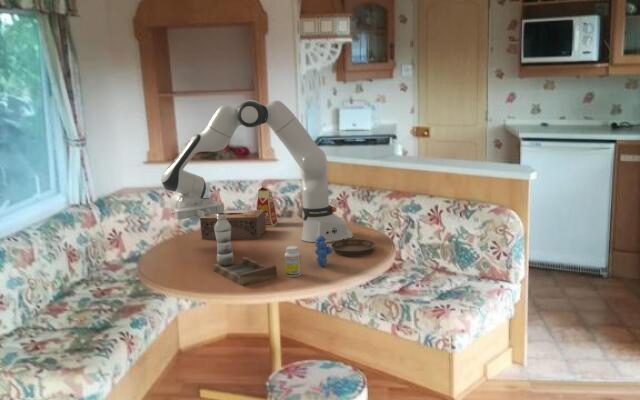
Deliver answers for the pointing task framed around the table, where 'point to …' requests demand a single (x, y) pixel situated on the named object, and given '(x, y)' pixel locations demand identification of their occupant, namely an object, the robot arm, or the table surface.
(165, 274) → the table surface
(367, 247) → the plant saucer
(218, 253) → the silver ridged container
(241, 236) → the tissue box cover
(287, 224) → the table surface
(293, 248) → the supplement bottle
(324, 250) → the grapes
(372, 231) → the table surface
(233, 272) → the wooden tray
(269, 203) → the milk carton
